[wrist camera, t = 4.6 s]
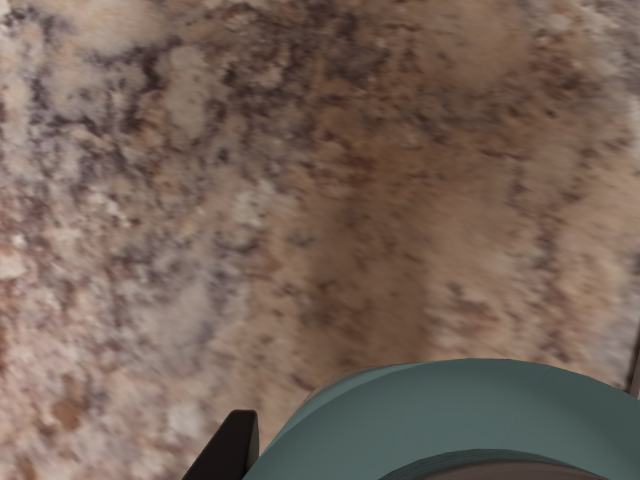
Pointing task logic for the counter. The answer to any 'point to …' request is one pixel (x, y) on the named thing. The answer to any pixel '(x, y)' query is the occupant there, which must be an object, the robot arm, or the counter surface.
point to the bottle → (458, 426)
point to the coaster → (636, 381)
